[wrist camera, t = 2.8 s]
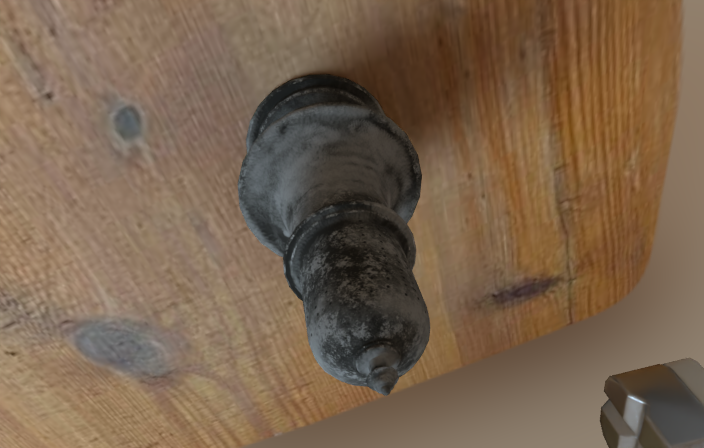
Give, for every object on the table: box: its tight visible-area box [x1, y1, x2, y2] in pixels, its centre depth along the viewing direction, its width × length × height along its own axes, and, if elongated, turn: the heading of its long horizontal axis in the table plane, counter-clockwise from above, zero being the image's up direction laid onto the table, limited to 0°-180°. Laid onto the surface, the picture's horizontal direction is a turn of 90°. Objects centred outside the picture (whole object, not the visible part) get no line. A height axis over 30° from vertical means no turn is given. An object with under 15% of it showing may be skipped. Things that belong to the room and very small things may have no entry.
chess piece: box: [238, 75, 430, 395], centre depth 17 cm, size 6×6×12 cm
